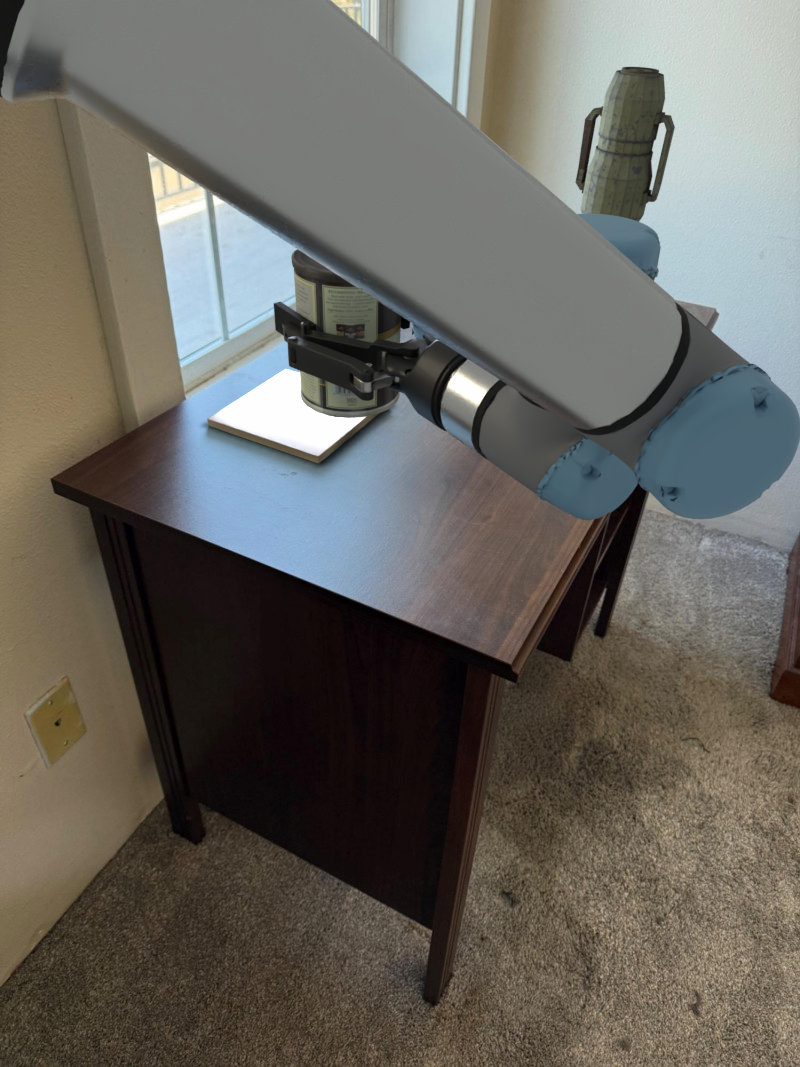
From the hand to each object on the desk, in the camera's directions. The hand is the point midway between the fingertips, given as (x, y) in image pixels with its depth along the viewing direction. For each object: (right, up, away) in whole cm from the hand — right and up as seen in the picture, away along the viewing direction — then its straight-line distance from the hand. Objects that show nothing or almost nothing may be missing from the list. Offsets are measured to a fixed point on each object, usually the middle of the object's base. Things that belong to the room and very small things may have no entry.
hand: (325, 304), depth 74 cm
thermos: (+37, +9, +42) cm, 57 cm away
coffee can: (+2, -9, +2) cm, 9 cm away
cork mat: (-5, -8, +18) cm, 21 cm away
